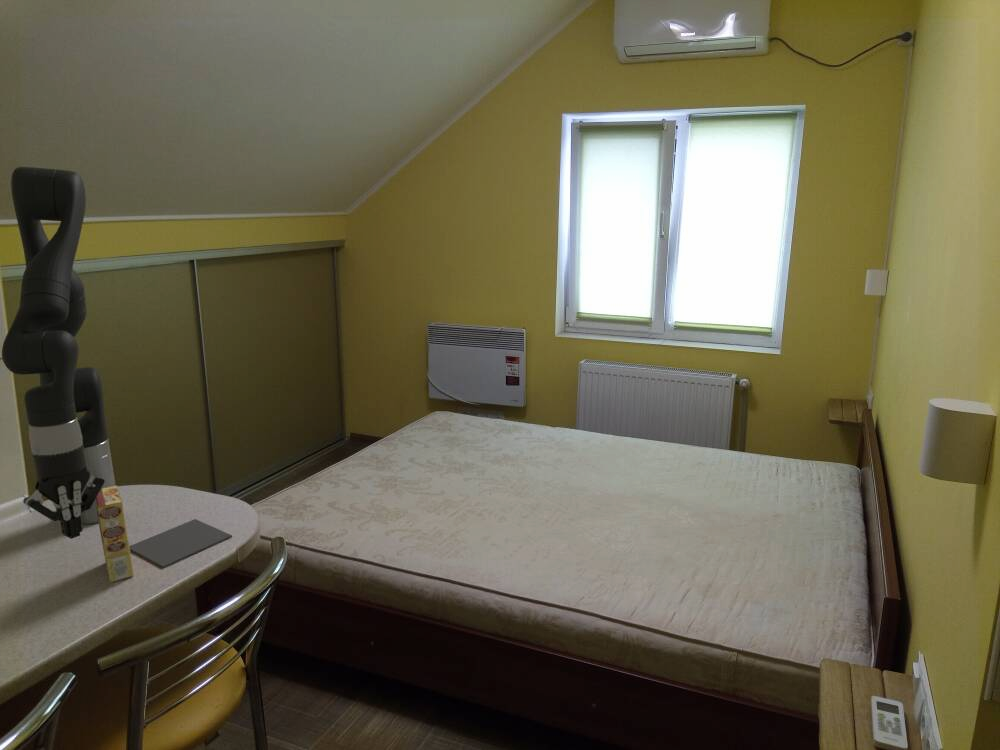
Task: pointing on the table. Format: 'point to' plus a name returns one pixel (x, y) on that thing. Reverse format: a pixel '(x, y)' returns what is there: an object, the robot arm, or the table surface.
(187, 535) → the mat
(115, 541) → the candy box
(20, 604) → the table surface
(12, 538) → the table surface
